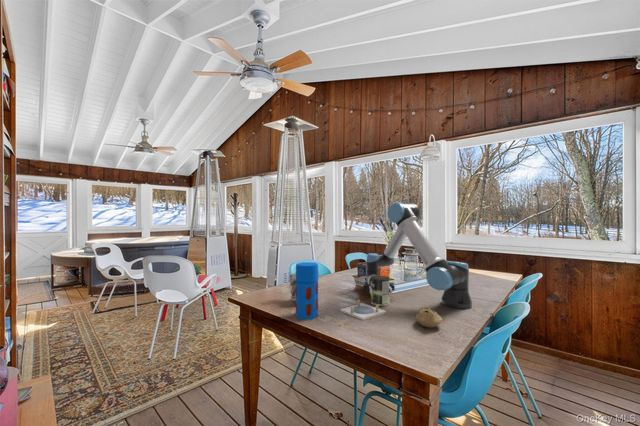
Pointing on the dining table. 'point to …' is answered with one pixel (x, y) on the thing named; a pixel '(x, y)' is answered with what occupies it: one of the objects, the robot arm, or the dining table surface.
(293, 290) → the robotic toy
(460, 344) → the dining table surface
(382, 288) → the coffee can
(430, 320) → the oil lamp
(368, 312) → the pin jig
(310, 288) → the thermos
